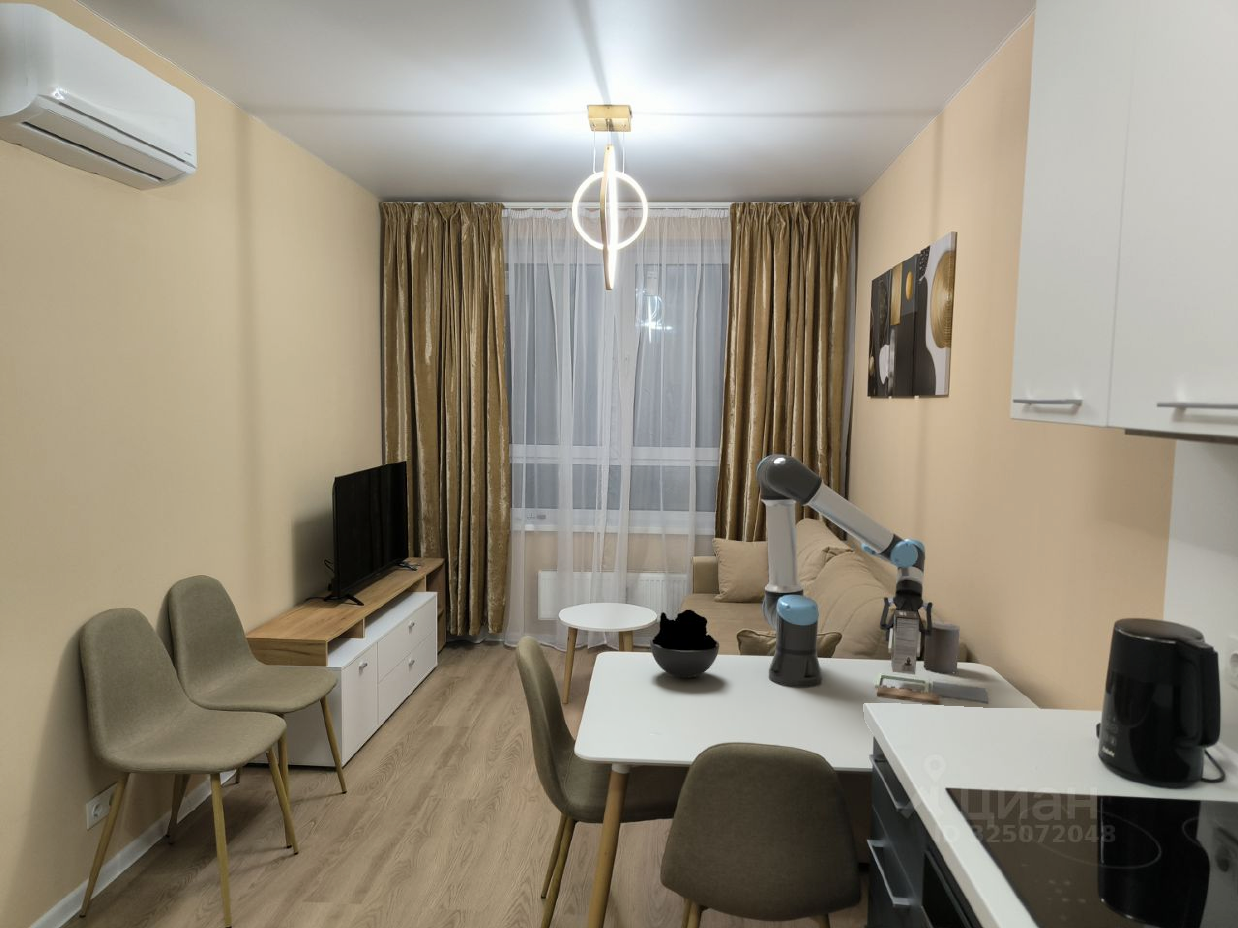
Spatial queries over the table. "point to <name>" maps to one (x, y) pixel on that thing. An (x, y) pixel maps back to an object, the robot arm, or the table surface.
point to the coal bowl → (684, 645)
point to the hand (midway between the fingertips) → (903, 652)
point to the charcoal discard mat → (960, 692)
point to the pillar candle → (942, 648)
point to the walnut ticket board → (908, 695)
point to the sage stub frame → (902, 679)
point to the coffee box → (905, 641)
